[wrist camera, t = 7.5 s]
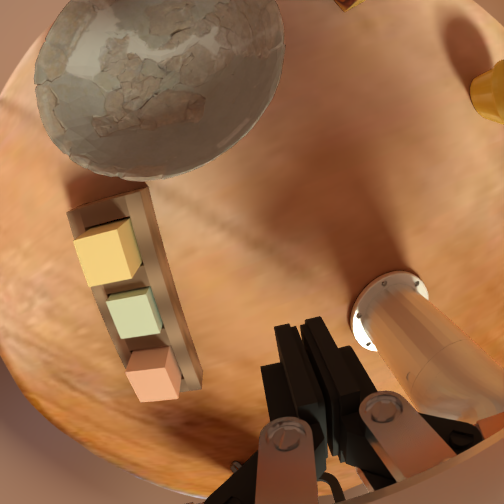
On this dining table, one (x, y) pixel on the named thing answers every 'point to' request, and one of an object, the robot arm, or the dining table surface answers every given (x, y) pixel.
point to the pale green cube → (135, 312)
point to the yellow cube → (108, 252)
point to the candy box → (348, 4)
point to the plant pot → (489, 93)
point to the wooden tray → (143, 281)
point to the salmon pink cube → (154, 374)
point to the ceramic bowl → (157, 81)
